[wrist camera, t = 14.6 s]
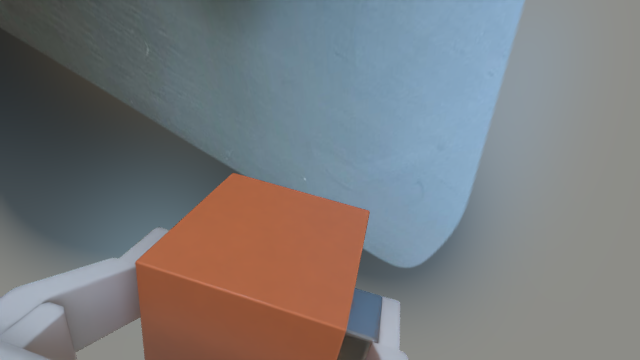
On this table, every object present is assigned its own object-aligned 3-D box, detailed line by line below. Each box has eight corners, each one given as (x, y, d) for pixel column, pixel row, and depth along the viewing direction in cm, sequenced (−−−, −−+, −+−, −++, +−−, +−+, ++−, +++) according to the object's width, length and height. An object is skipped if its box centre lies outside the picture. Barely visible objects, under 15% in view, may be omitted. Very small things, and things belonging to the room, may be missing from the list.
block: (370, 210, 10) (346, 330, 6) (339, 311, 13) (308, 449, 9) (232, 171, 11) (133, 261, 7) (225, 275, 13) (147, 389, 9)
